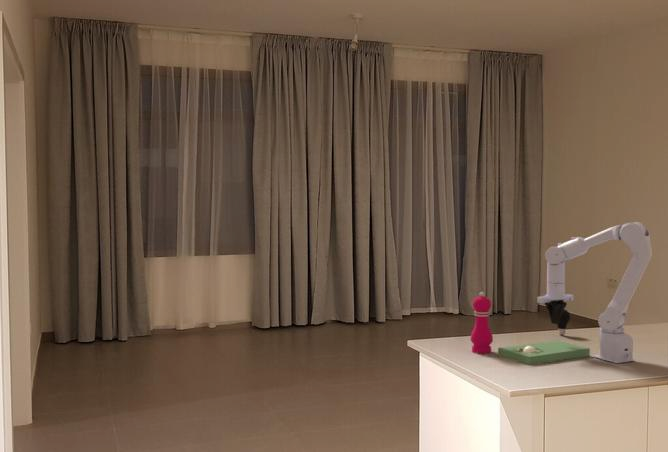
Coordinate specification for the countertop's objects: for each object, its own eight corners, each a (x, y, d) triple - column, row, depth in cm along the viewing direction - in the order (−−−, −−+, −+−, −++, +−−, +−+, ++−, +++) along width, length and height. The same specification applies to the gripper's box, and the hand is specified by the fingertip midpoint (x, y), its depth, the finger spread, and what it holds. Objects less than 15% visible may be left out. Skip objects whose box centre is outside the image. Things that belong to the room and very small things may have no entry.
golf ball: (531, 363, 211) (540, 354, 211) (526, 357, 209) (535, 348, 209) (524, 356, 215) (532, 347, 214) (518, 350, 212) (527, 341, 212)
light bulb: (567, 334, 251) (568, 307, 250) (571, 337, 245) (572, 310, 245) (551, 333, 251) (552, 307, 251) (555, 337, 245) (555, 310, 245)
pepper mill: (493, 354, 217) (493, 293, 217) (470, 353, 219) (470, 293, 218) (492, 349, 224) (492, 290, 224) (470, 348, 226) (470, 290, 225)
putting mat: (589, 355, 215) (589, 348, 215) (529, 364, 203) (529, 356, 203) (556, 347, 228) (556, 340, 228) (498, 355, 216) (498, 347, 216)
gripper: (562, 280, 228) (562, 319, 229) (530, 282, 221) (530, 323, 222) (578, 282, 222) (578, 322, 222) (546, 284, 215) (546, 326, 216)
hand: (555, 323), depth 222 cm, fingers closed
